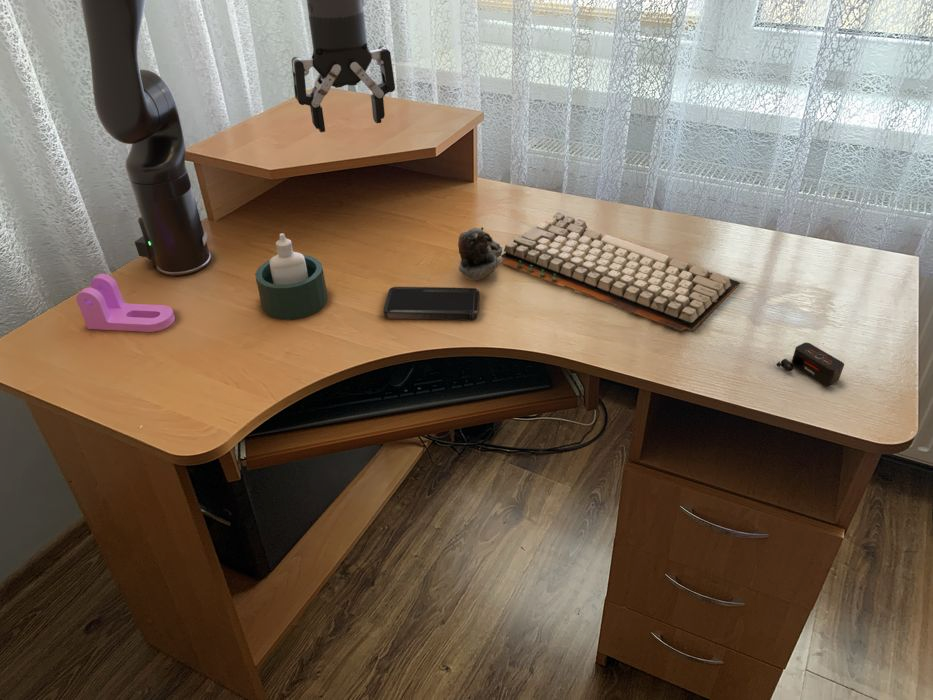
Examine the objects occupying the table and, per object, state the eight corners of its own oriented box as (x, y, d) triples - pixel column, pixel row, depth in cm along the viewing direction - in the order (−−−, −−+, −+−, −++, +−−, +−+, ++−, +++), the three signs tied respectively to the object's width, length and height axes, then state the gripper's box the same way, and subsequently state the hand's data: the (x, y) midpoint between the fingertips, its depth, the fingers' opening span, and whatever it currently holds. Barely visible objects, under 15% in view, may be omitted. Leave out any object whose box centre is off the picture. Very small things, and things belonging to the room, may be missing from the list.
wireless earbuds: (796, 356, 106) (801, 338, 104) (839, 382, 102) (846, 364, 100) (774, 367, 105) (780, 349, 103) (817, 394, 100) (824, 376, 98)
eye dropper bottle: (305, 307, 119) (293, 242, 112) (273, 304, 120) (259, 239, 113) (315, 293, 123) (304, 229, 116) (283, 290, 124) (270, 226, 117)
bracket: (88, 328, 117) (72, 291, 113) (105, 309, 121) (91, 273, 117) (165, 332, 116) (152, 295, 111) (180, 312, 120) (168, 276, 116)
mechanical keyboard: (740, 283, 123) (744, 266, 121) (689, 337, 111) (693, 319, 109) (551, 223, 142) (552, 207, 140) (491, 263, 131) (491, 247, 129)
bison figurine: (465, 252, 134) (463, 201, 128) (503, 253, 133) (504, 202, 127) (456, 287, 124) (453, 234, 118) (497, 289, 123) (497, 235, 117)
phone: (476, 314, 115) (382, 312, 116) (476, 320, 116) (382, 318, 117) (479, 287, 121) (390, 285, 123) (479, 293, 122) (390, 291, 123)
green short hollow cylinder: (249, 313, 119) (242, 281, 116) (284, 280, 127) (278, 250, 124) (306, 324, 116) (300, 292, 113) (338, 290, 124) (333, 259, 121)
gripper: (378, -2, 104) (388, 111, 114) (278, 8, 100) (297, 125, 110) (394, 8, 99) (402, 127, 109) (288, 20, 95) (307, 142, 105)
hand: (349, 126), depth 109 cm, fingers open, 8 cm apart
